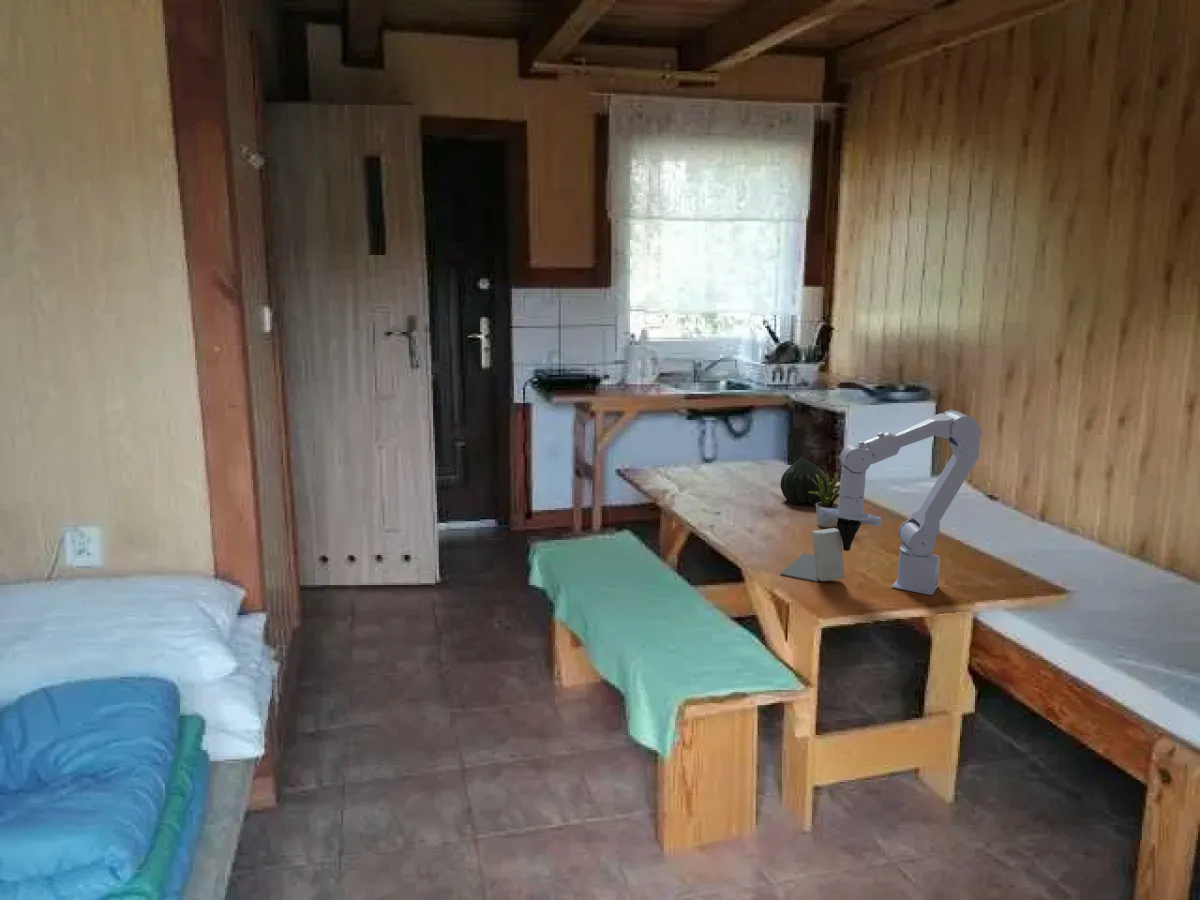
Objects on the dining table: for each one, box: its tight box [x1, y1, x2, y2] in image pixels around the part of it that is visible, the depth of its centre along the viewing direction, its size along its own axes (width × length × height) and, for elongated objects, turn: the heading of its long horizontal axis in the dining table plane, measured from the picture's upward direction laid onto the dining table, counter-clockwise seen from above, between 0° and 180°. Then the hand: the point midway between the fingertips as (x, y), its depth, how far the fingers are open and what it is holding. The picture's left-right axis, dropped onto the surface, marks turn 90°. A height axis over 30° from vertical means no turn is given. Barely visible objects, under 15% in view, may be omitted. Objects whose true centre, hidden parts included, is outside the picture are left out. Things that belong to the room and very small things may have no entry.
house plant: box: [808, 470, 840, 528], centre depth 275 cm, size 14×14×16 cm
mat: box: [779, 552, 820, 583], centre depth 239 cm, size 10×20×1 cm, turn 151°
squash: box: [780, 457, 827, 506], centre depth 303 cm, size 14×15×15 cm
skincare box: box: [811, 527, 845, 582], centre depth 228 cm, size 6×4×12 cm
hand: (846, 549), depth 226 cm, fingers closed
